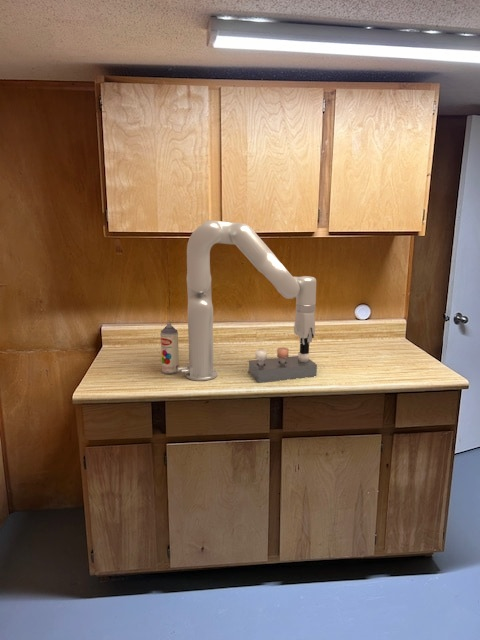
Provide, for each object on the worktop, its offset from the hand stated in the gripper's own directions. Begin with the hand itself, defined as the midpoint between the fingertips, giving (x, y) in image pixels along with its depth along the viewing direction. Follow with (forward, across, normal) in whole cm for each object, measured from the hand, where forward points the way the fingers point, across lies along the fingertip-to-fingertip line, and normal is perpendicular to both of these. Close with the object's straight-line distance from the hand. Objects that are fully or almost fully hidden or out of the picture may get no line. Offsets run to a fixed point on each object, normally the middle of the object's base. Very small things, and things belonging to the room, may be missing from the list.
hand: (304, 353), depth 184 cm
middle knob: (+5, 0, -9) cm, 11 cm away
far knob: (+8, 0, 0) cm, 8 cm away
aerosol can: (+8, -16, -51) cm, 54 cm away
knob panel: (+8, 0, -9) cm, 12 cm away
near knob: (+5, 0, -18) cm, 19 cm away
